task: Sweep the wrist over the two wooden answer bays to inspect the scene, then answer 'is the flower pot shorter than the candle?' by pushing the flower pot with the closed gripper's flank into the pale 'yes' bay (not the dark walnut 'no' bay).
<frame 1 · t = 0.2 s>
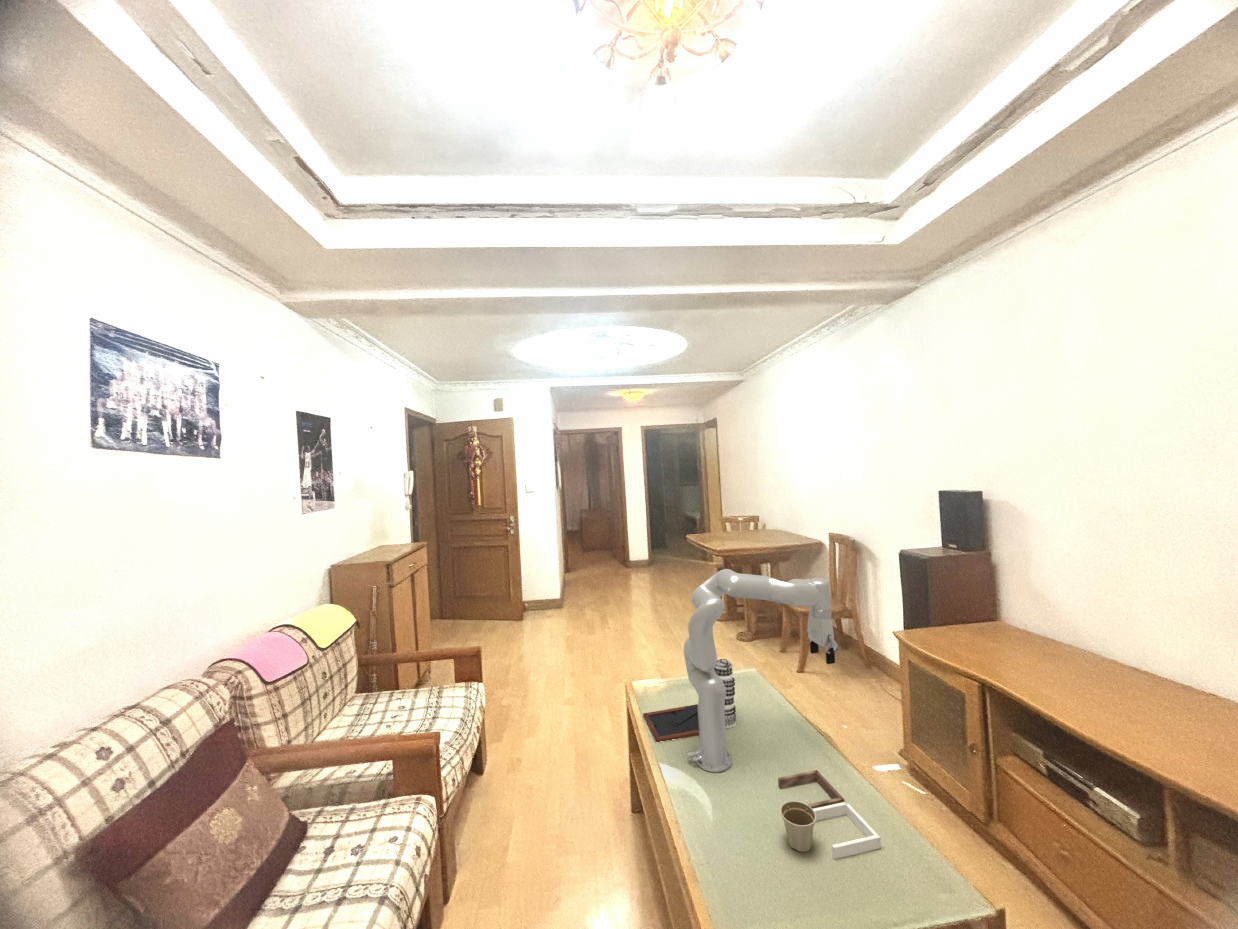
hand: (822, 658, 179), 31 cm above the table, fingers open, 9 cm apart
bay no: (810, 797, 151), on the table
flower pot: (799, 844, 134), on the table
picture frame: (679, 725, 197), on the table
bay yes: (841, 833, 136), on the table
decorative candle: (725, 722, 196), on the table
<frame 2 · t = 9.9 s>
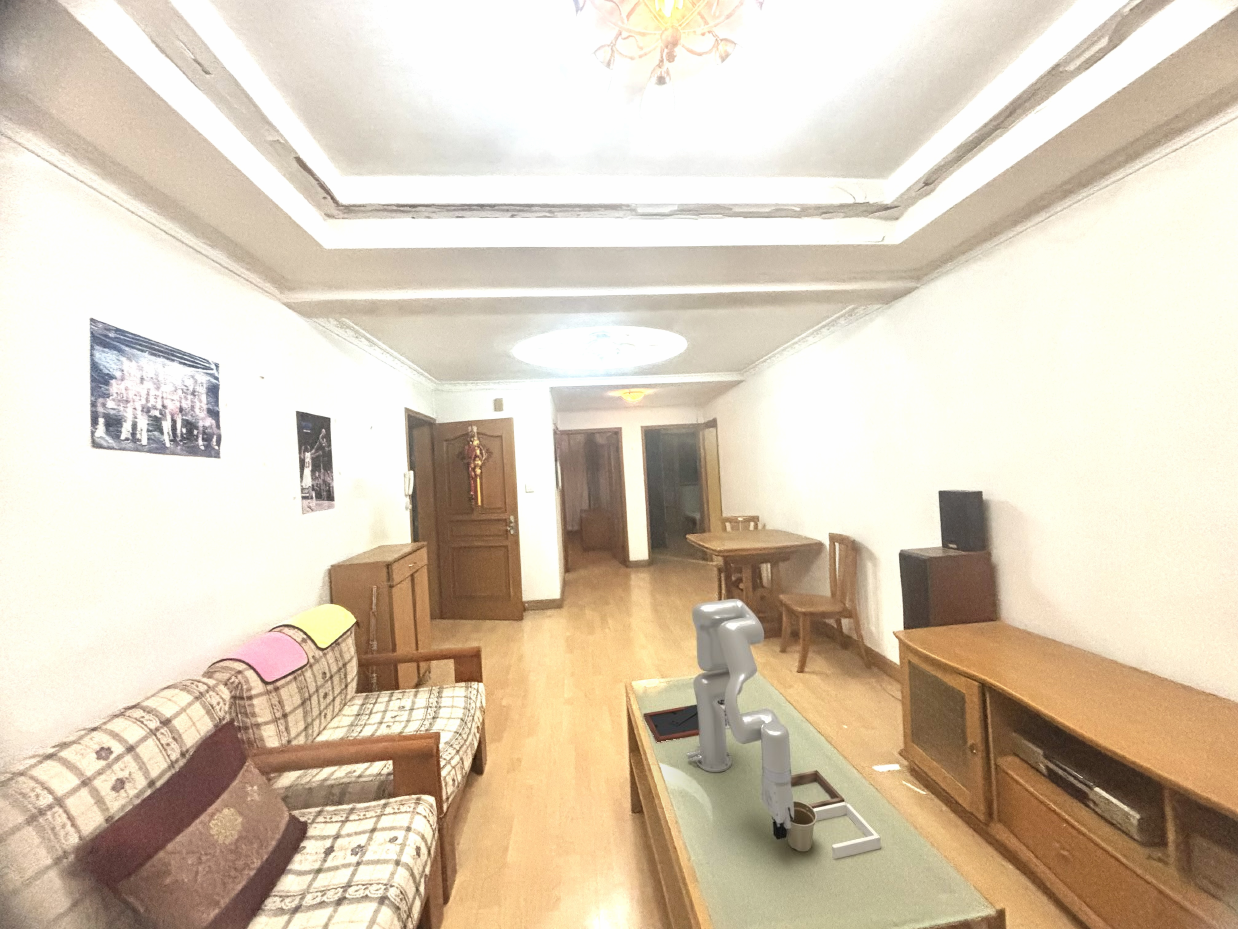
hand: (780, 836, 133), 3 cm above the table, fingers closed
flower pot: (799, 844, 134), on the table, touching gripper
everything else where it was.
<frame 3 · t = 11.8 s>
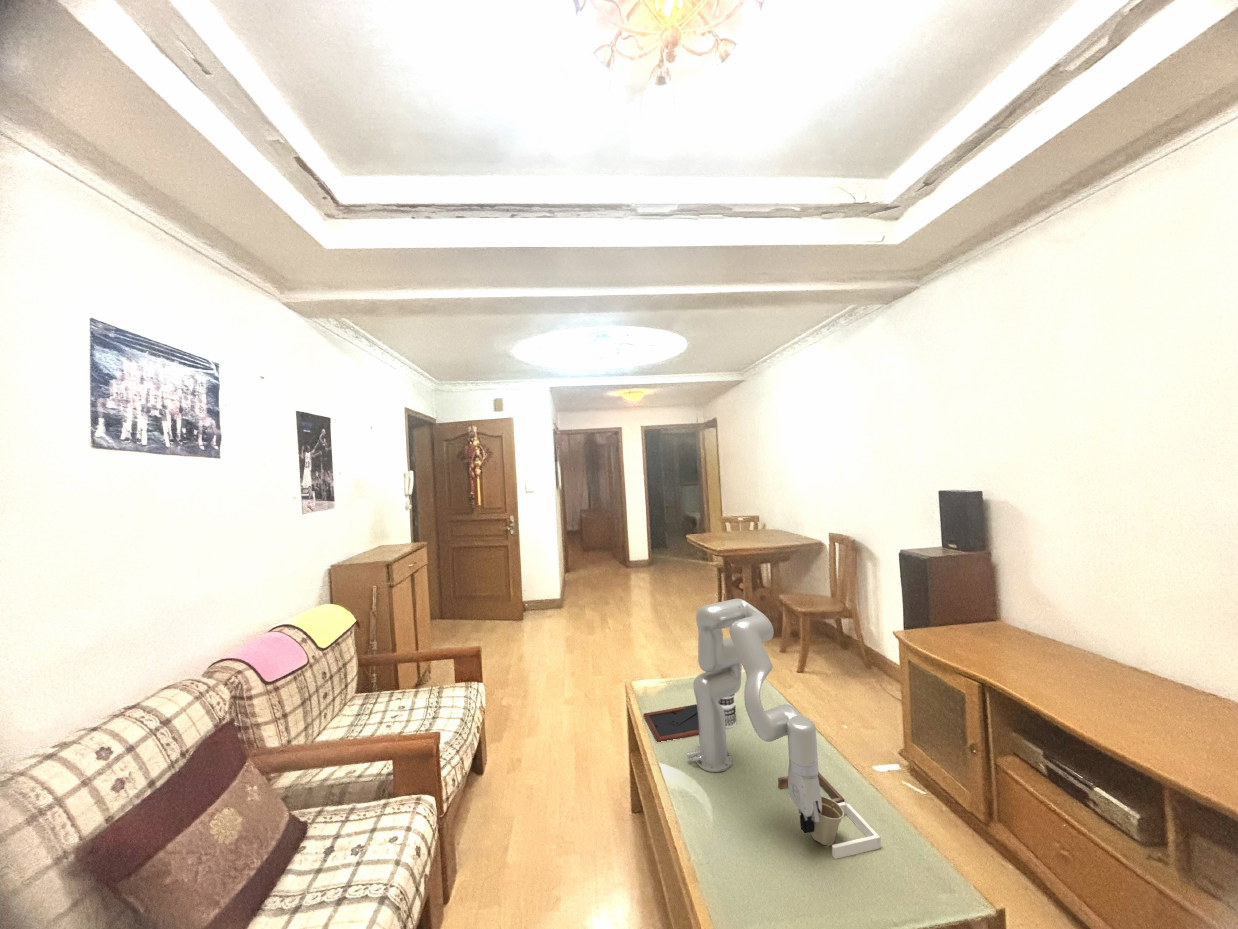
hand: (807, 830, 134), 3 cm above the table, fingers closed
flower pot: (822, 838, 135), on the table, touching gripper
everything else where it was.
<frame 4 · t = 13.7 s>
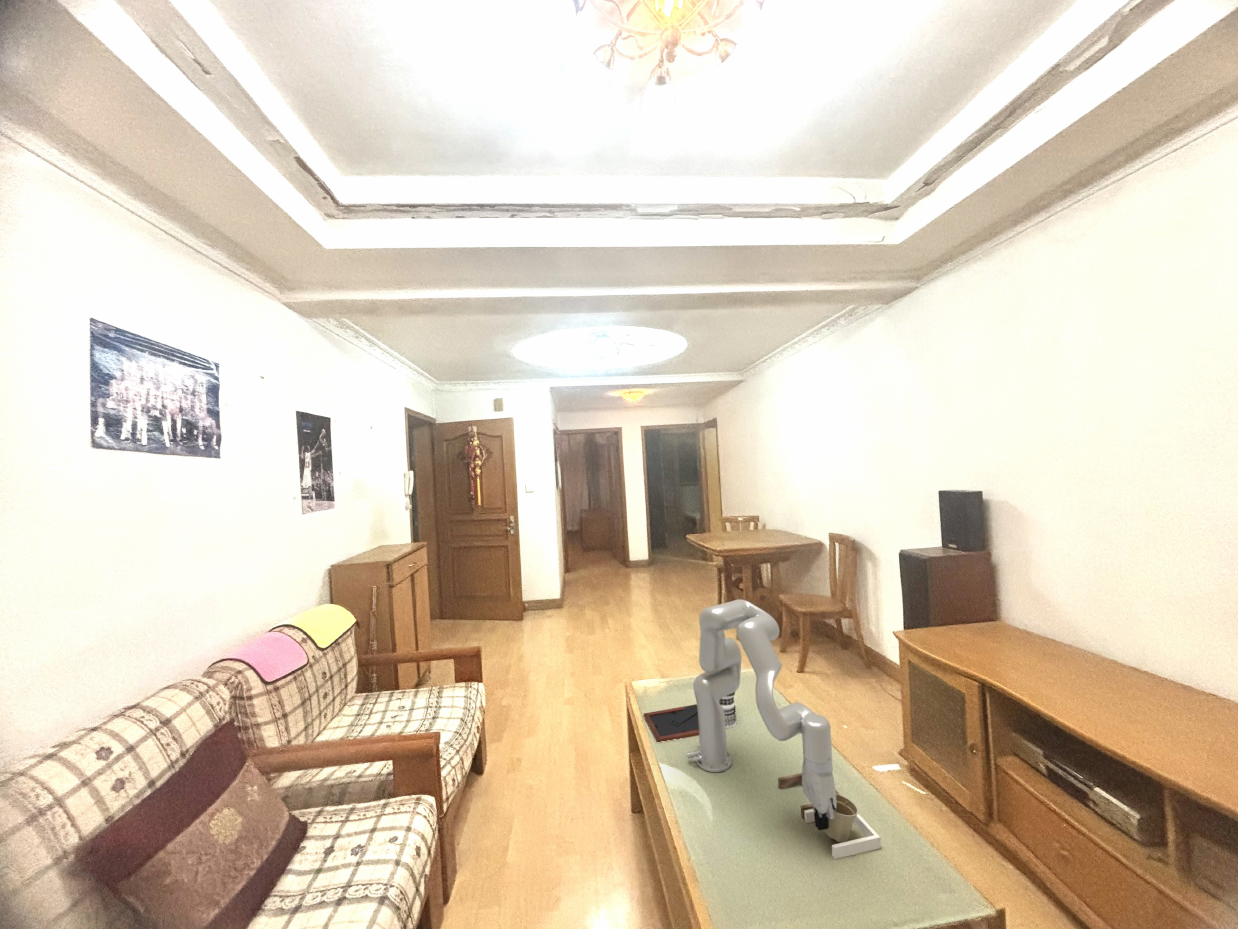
hand: (821, 827, 135), 4 cm above the table, fingers closed
flower pot: (836, 835, 135), on the table, touching gripper
everything else where it was.
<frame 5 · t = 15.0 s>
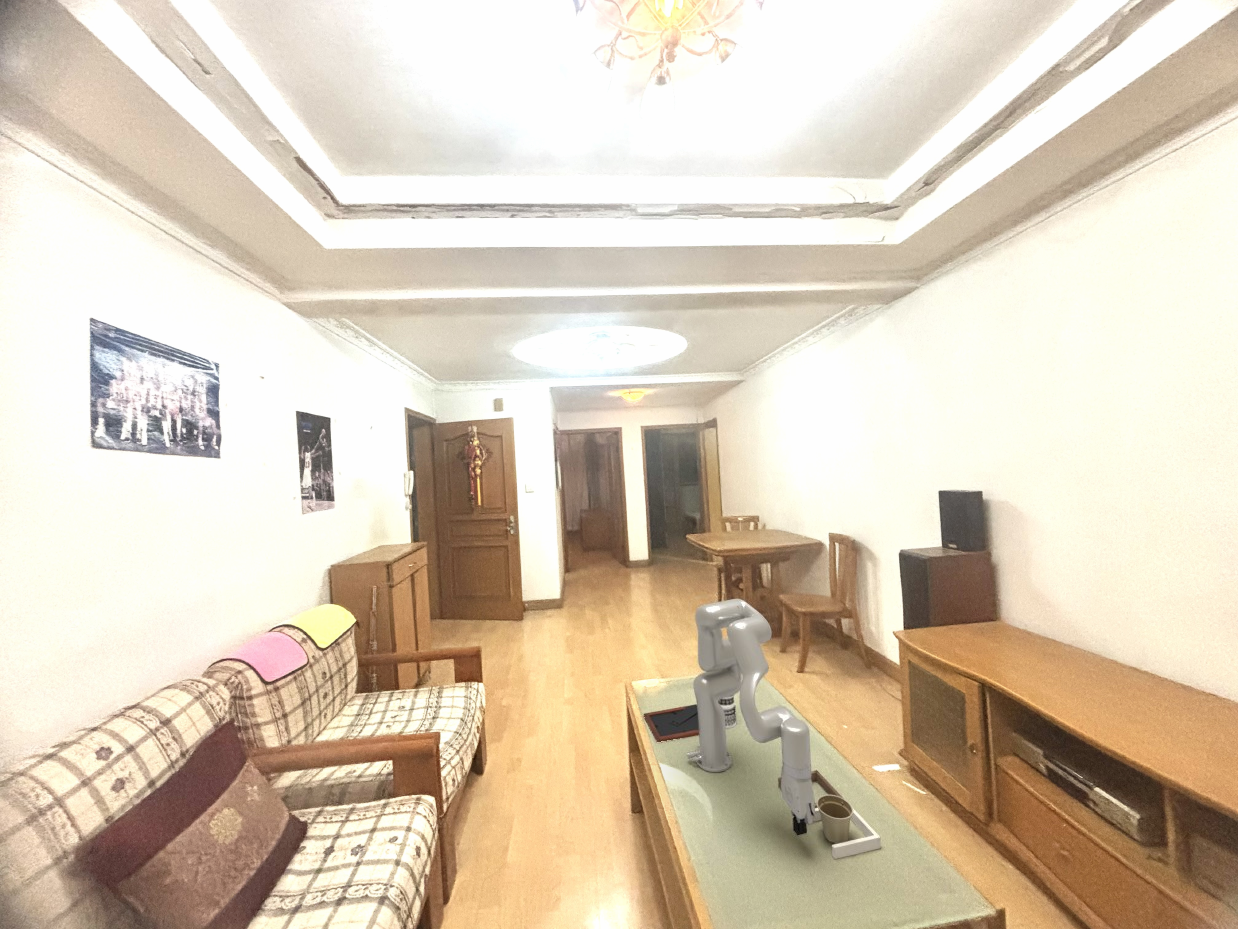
hand: (800, 832, 134), 3 cm above the table, fingers closed
flower pot: (836, 837, 135), on the table
everything else where it was.
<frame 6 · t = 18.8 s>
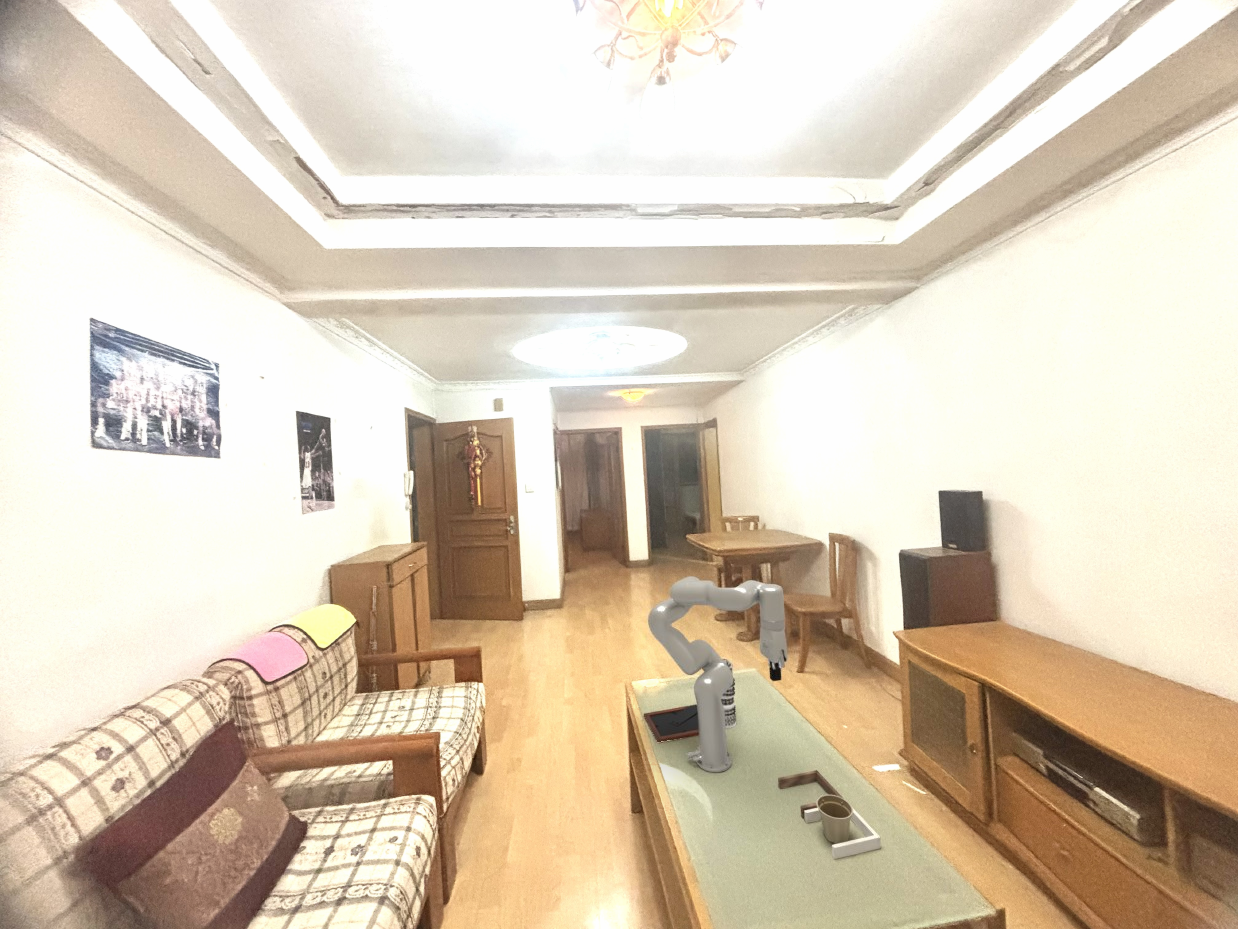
hand: (775, 679, 156), 35 cm above the table, fingers closed
nothing on the table moved.
at the end: flower pot inside the target area on the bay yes (2.1 cm from its centre), point 0.0 cm above the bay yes's base; flower pot tilted 0°; decorative candle inside the target area (0.0 cm from its centre), on the table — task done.
